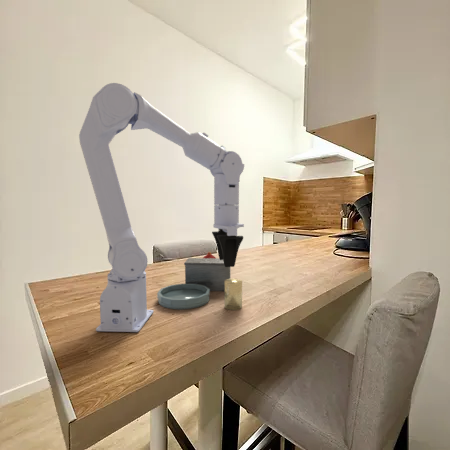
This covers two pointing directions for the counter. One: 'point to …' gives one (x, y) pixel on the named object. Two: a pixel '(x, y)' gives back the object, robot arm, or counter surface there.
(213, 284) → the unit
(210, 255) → the onion
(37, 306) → the counter surface
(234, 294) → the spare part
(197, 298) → the plate
